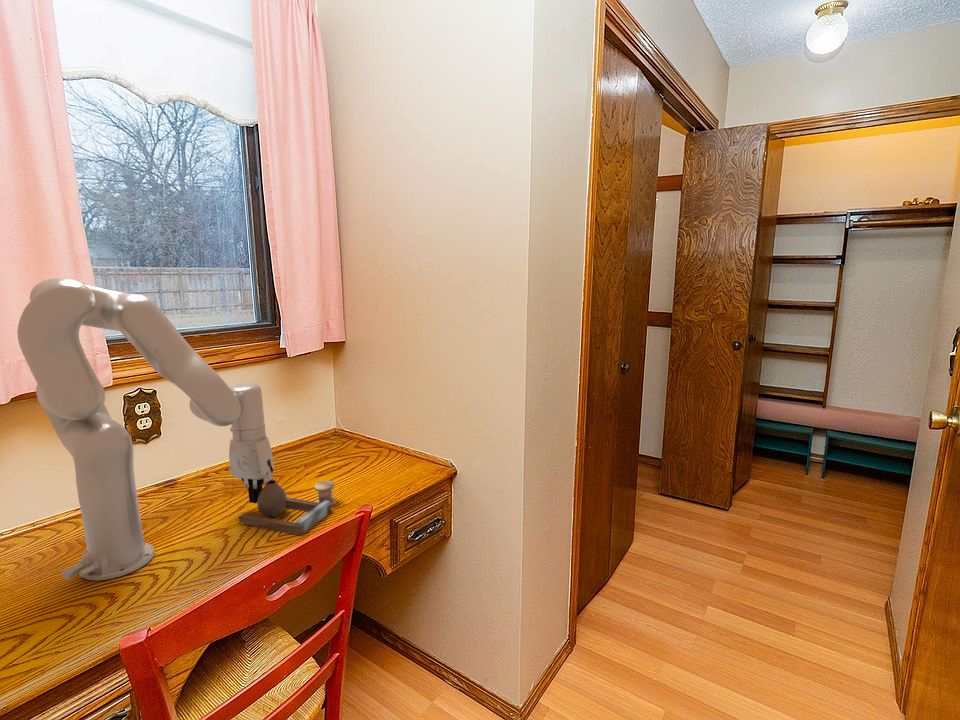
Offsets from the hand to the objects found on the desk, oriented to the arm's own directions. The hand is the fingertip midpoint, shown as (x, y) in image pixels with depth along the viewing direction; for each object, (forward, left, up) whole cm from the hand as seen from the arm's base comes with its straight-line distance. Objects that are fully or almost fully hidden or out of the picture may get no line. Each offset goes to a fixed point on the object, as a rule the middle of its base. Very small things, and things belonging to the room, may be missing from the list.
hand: (256, 500), depth 126 cm
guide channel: (-1, -9, -3) cm, 10 cm away
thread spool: (+9, -14, -3) cm, 17 cm away
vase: (0, -5, -3) cm, 6 cm away
